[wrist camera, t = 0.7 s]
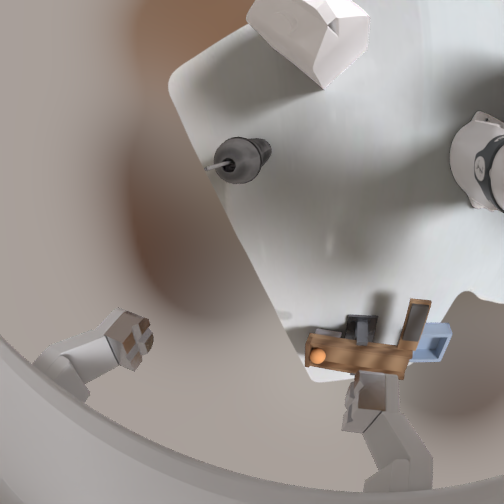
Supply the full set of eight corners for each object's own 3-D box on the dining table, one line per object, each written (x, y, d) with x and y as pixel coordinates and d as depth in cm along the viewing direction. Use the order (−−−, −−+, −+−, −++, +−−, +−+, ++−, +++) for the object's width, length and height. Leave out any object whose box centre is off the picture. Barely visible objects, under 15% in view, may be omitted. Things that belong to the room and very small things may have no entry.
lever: (430, 292, 47) (432, 311, 42) (407, 363, 56) (405, 382, 52) (313, 279, 57) (305, 295, 52) (311, 349, 67) (304, 366, 62)
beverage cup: (270, 175, 52) (231, 209, 35) (236, 160, 53) (183, 187, 36) (284, 140, 48) (250, 156, 31) (248, 125, 49) (197, 135, 32)
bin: (448, 322, 53) (452, 334, 50) (437, 350, 58) (440, 361, 54) (414, 322, 57) (416, 334, 53) (405, 350, 61) (406, 362, 57)
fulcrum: (377, 316, 59) (378, 340, 52) (369, 353, 65) (368, 377, 58) (348, 314, 61) (346, 338, 54) (343, 352, 67) (340, 376, 60)
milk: (367, 50, 35) (387, -7, 14) (323, 90, 42) (305, 64, 20) (314, 8, 34) (284, -67, 12) (273, 48, 40) (209, 0, 18)
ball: (329, 349, 58) (319, 359, 56) (328, 360, 60) (318, 369, 58) (316, 342, 61) (306, 351, 59) (316, 353, 62) (306, 362, 60)
